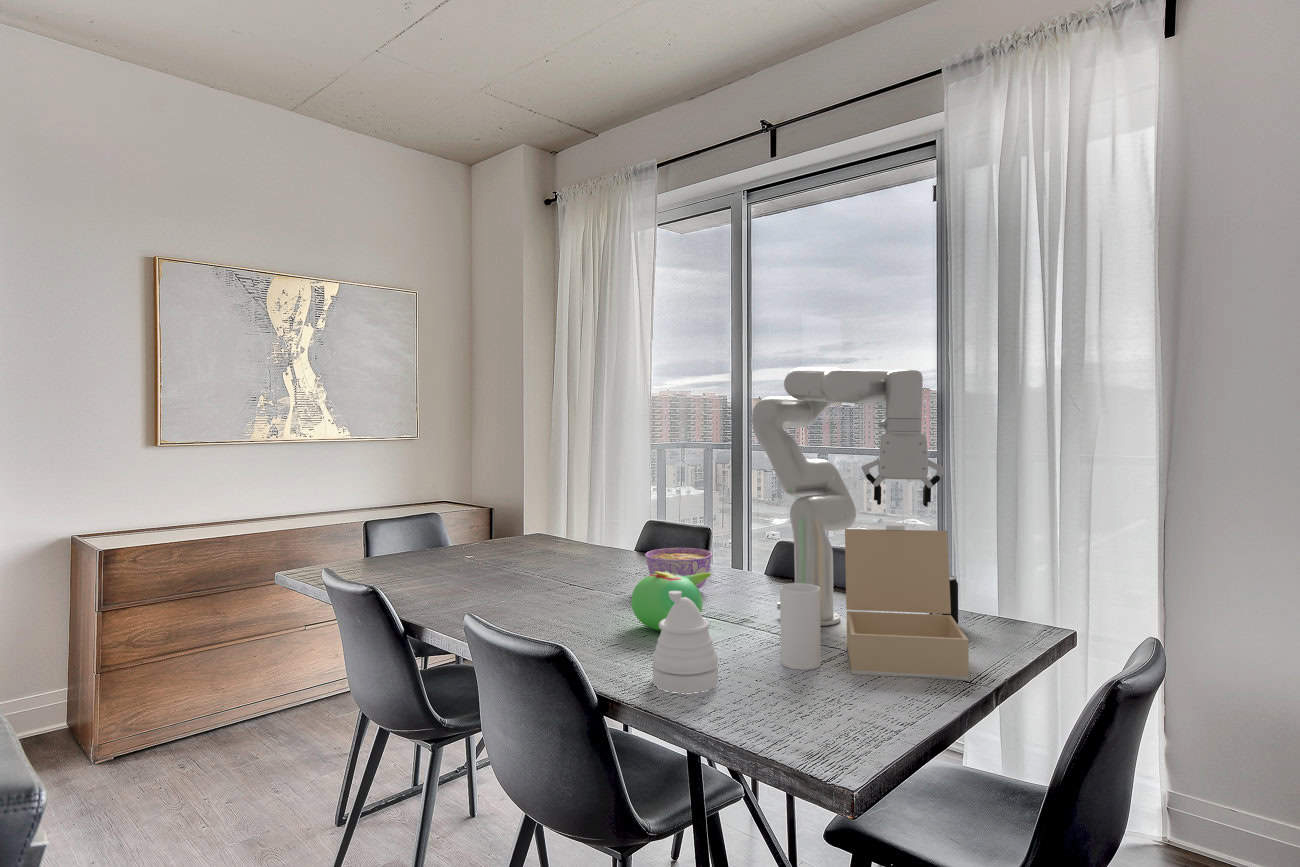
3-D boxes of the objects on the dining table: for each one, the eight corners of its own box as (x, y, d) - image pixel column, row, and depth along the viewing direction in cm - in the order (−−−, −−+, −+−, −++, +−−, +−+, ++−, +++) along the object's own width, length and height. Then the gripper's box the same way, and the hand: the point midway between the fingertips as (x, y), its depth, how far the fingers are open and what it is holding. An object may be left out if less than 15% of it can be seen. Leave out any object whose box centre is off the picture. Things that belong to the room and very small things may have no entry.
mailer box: (851, 674, 148) (851, 634, 148) (846, 646, 166) (846, 611, 165) (968, 680, 143) (968, 639, 143) (951, 651, 161) (951, 615, 161)
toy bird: (618, 630, 181) (617, 570, 181) (664, 615, 194) (663, 560, 193) (673, 644, 169) (672, 580, 169) (718, 628, 181) (718, 568, 181)
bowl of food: (715, 600, 209) (714, 559, 209) (644, 601, 209) (644, 560, 209) (710, 584, 229) (710, 547, 229) (646, 585, 229) (645, 548, 229)
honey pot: (669, 699, 136) (668, 602, 136) (642, 677, 148) (641, 587, 148) (730, 687, 142) (729, 594, 141) (699, 667, 153) (698, 581, 153)
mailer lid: (844, 525, 169) (844, 525, 170) (846, 609, 165) (846, 609, 166) (946, 526, 164) (946, 526, 165) (950, 613, 161) (950, 613, 161)
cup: (812, 672, 149) (812, 593, 149) (774, 665, 154) (773, 589, 153) (826, 660, 156) (825, 585, 156) (789, 654, 161) (788, 581, 160)
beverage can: (960, 629, 177) (960, 580, 177) (931, 628, 178) (931, 579, 178) (955, 622, 184) (955, 574, 183) (927, 621, 185) (927, 573, 185)
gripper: (862, 427, 159) (861, 505, 160) (948, 428, 155) (946, 509, 156) (861, 425, 167) (860, 501, 167) (943, 426, 162) (941, 503, 163)
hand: (901, 504), depth 162 cm, fingers open, 9 cm apart
